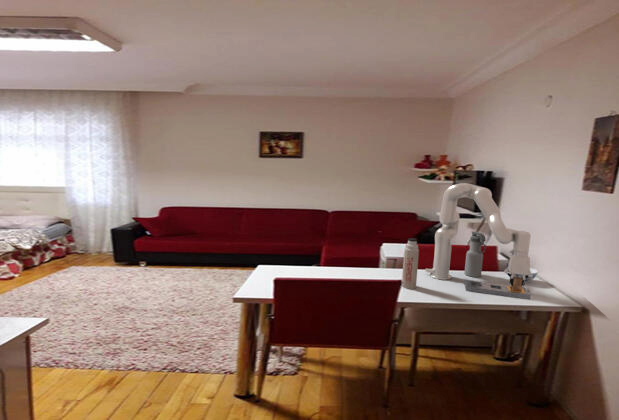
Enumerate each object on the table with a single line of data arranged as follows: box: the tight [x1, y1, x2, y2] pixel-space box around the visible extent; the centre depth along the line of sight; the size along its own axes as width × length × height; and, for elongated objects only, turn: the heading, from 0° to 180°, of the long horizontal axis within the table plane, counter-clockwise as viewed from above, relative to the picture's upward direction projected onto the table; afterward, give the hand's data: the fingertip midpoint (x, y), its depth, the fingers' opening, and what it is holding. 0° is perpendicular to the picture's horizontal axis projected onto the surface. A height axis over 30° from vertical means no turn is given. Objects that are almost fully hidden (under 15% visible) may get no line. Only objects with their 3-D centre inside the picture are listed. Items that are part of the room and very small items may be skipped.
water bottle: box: [464, 230, 487, 278], centre depth 230 cm, size 10×10×28 cm
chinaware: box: [514, 267, 539, 284], centre depth 223 cm, size 15×15×8 cm
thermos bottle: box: [401, 237, 420, 290], centre depth 206 cm, size 8×8×28 cm
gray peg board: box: [463, 279, 532, 300], centre depth 205 cm, size 32×12×3 cm, turn 72°
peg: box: [510, 276, 522, 291], centre depth 201 cm, size 4×4×8 cm
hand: (516, 285), depth 201 cm, fingers closed on peg, 4 cm apart
